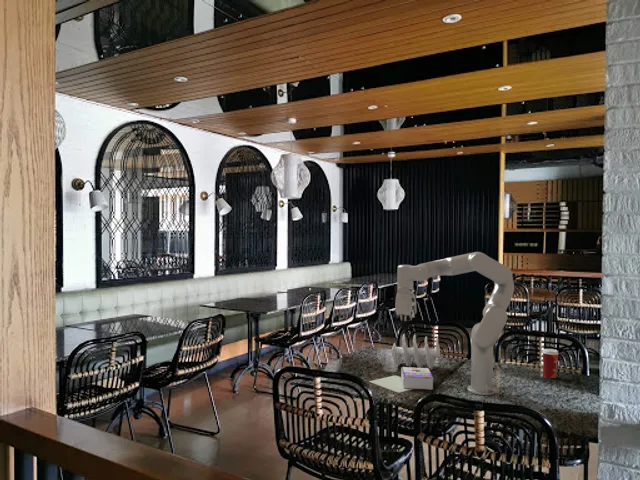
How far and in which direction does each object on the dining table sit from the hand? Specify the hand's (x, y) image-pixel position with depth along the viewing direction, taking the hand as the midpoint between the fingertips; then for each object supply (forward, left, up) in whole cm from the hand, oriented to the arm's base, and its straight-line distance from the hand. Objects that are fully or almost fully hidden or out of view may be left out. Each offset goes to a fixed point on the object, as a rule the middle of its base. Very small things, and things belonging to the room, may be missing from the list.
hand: (405, 328), depth 234 cm
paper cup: (-33, -71, -27) cm, 84 cm away
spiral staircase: (+19, -28, -28) cm, 44 cm away
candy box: (-9, 0, -24) cm, 26 cm away
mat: (+4, +2, -27) cm, 28 cm away
